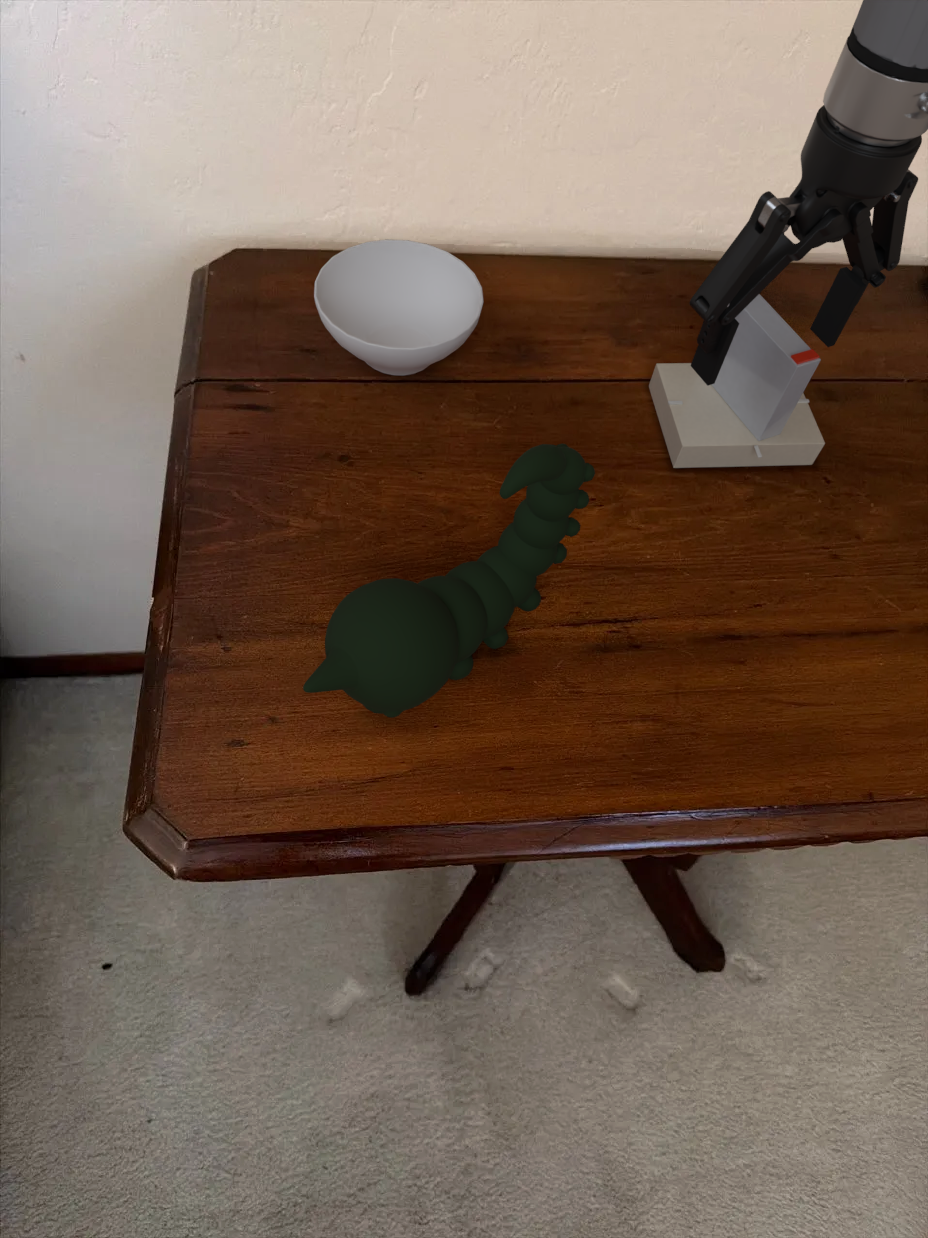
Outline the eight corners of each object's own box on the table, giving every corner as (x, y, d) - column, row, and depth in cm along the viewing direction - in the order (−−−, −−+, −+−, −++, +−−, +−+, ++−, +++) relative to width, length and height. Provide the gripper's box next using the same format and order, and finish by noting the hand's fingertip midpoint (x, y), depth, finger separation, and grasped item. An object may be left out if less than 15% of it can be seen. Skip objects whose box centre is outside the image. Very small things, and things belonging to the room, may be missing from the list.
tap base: (775, 373, 92) (787, 349, 89) (818, 477, 84) (832, 454, 82) (643, 374, 90) (652, 350, 87) (676, 481, 83) (686, 458, 80)
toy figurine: (497, 552, 78) (264, 704, 66) (545, 383, 63) (254, 540, 51) (573, 621, 75) (343, 794, 63) (643, 461, 60) (358, 647, 48)
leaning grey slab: (699, 370, 86) (731, 291, 79) (721, 364, 87) (755, 285, 79) (758, 441, 82) (798, 364, 74) (780, 434, 83) (822, 357, 75)
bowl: (309, 302, 91) (305, 242, 86) (460, 294, 94) (466, 235, 88) (327, 413, 83) (323, 354, 77) (491, 400, 86) (499, 343, 80)
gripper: (762, 182, 57) (672, 420, 75) (1037, 116, 64) (894, 347, 82) (697, 121, 60) (626, 363, 78) (965, 65, 67) (843, 298, 85)
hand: (763, 355), depth 80 cm, fingers open, 13 cm apart
